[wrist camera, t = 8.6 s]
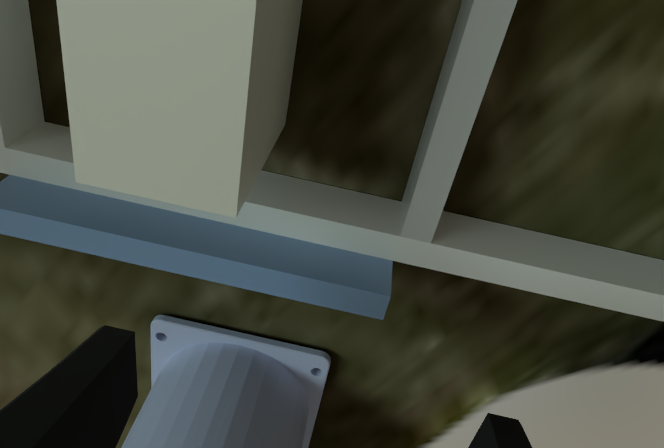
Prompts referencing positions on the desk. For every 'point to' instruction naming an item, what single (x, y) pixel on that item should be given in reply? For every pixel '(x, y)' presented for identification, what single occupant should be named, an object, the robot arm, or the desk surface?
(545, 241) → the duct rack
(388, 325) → the desk surface
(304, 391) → the robot arm
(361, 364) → the desk surface
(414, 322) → the desk surface
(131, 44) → the cream rectangular block
